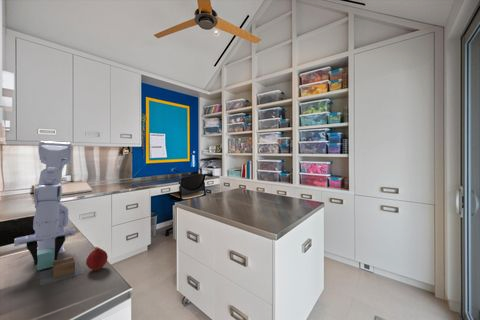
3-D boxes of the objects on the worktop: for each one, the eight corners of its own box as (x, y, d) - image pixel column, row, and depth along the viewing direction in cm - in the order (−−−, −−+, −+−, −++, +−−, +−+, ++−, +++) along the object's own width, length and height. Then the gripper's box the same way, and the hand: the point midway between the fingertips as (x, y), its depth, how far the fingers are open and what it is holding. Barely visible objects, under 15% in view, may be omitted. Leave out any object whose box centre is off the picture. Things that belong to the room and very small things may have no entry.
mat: (39, 273, 66) (39, 272, 66) (78, 263, 73) (78, 261, 73) (40, 287, 59) (40, 286, 59) (83, 274, 66) (83, 273, 66)
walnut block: (52, 271, 66) (53, 260, 66) (72, 266, 70) (72, 256, 70) (53, 278, 62) (54, 266, 63) (74, 272, 66) (75, 261, 66)
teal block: (36, 265, 68) (37, 250, 68) (53, 261, 71) (53, 247, 71) (37, 270, 65) (37, 254, 65) (54, 266, 68) (54, 251, 68)
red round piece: (103, 264, 72) (104, 241, 72) (109, 270, 69) (110, 246, 69) (83, 270, 68) (84, 246, 68) (88, 277, 64) (89, 252, 64)
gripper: (14, 228, 60) (12, 274, 60) (76, 219, 71) (75, 258, 71) (15, 222, 65) (13, 265, 65) (73, 215, 76) (72, 251, 75)
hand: (45, 261), depth 68 cm, fingers closed on teal block, 4 cm apart
